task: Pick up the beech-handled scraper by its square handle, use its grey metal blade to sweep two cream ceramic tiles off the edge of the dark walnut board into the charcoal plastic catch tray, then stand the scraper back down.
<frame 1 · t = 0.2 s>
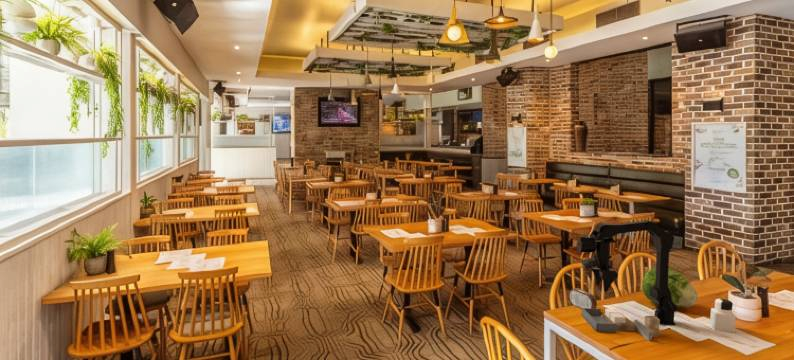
hand: (601, 288, 208), 14 cm above the table, fingers open, 9 cm apart
tray: (598, 323, 206), on the table
scraper: (651, 334, 195), on the table
medicine bottle: (722, 328, 203), on the table
board: (618, 324, 206), on the table
tile b: (617, 321, 203), point 2 cm above the table, touching board
tile a: (612, 316, 208), point 2 cm above the table, touching board
lettuce: (668, 306, 229), on the table
tin: (581, 308, 225), on the table
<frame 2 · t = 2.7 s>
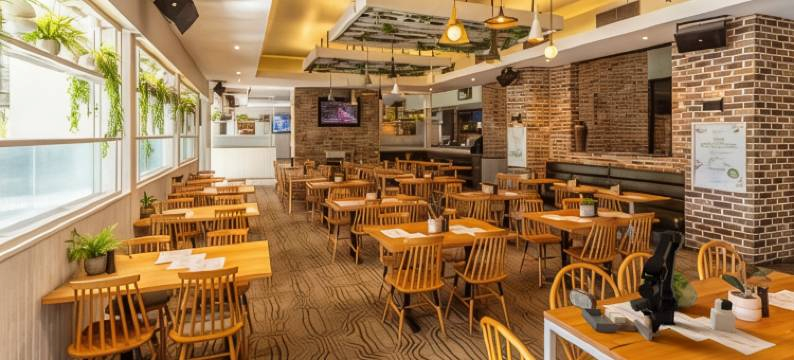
hand: (651, 330, 195), 2 cm above the table, fingers closed on scraper, 4 cm apart
scraper: (651, 334, 195), on the table, touching gripper
everything else where it was.
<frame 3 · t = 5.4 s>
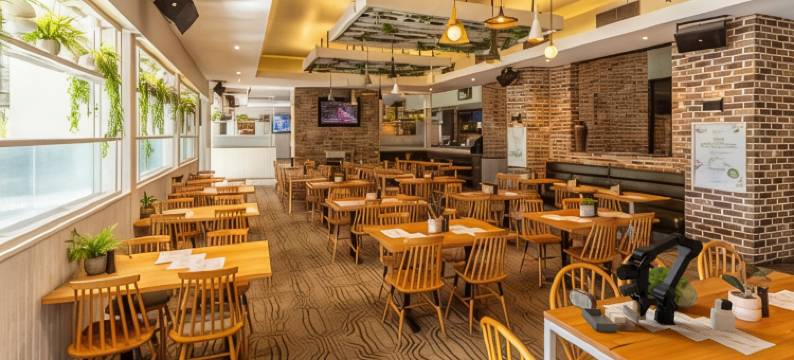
hand: (639, 314, 205), 4 cm above the table, fingers closed on scraper, 4 cm apart
scraper: (639, 318, 205), point 3 cm above the table, touching gripper
everything else where it was.
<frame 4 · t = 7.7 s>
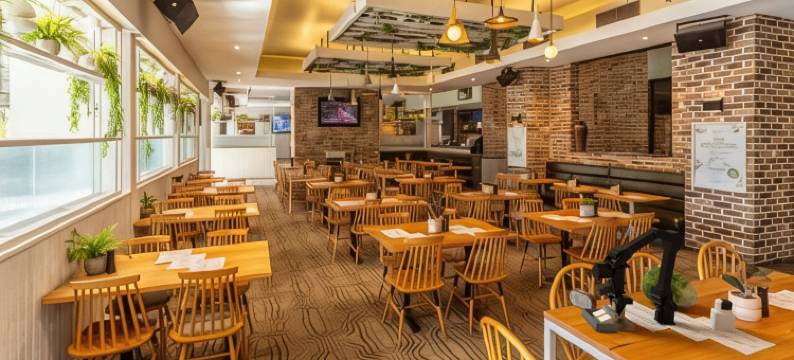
hand: (615, 314, 206), 4 cm above the table, fingers closed on scraper, 4 cm apart
scraper: (617, 317, 206), point 3 cm above the table, touching gripper
tile b: (606, 323, 203), point 1 cm above the table, tilted 25°, touching board, tray
tile a: (601, 317, 209), point 1 cm above the table, tilted 25°, touching board, tray
everything else where it was.
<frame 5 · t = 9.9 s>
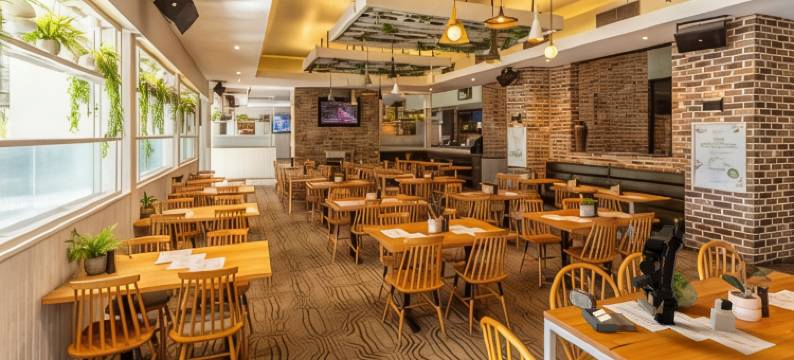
hand: (652, 308, 195), 11 cm above the table, fingers closed on scraper, 4 cm apart
scraper: (654, 311, 195), point 10 cm above the table, touching gripper
everything else where it was.
when the fingers open (2 cm above the table, at t = 11.6 s): scraper drops 1 cm, on the table.
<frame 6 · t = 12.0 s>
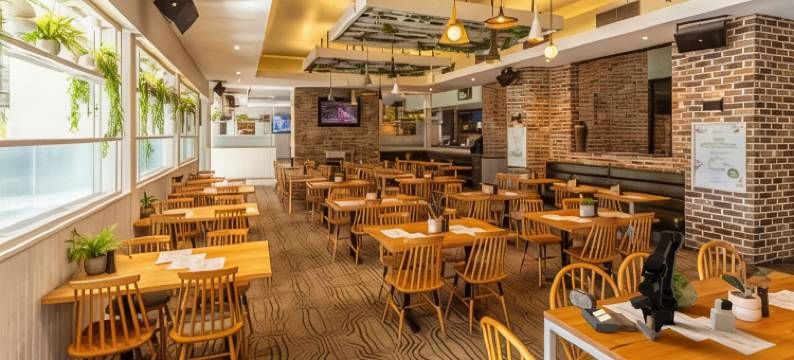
hand: (651, 328, 195), 2 cm above the table, fingers open, 8 cm apart
scraper: (653, 334, 195), on the table
everything else where it was.
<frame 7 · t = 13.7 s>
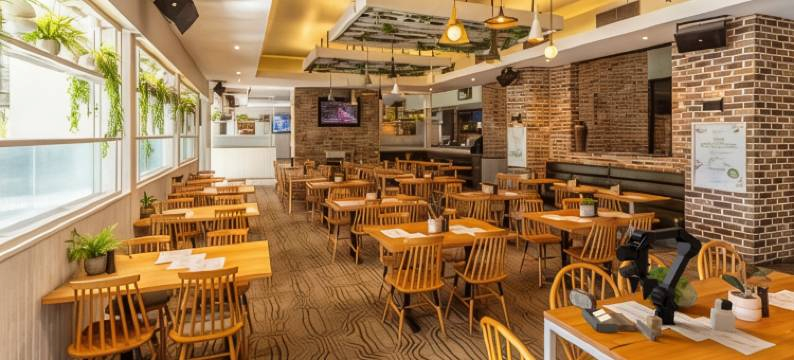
hand: (639, 296, 204), 12 cm above the table, fingers open, 9 cm apart
nothing on the table moved.
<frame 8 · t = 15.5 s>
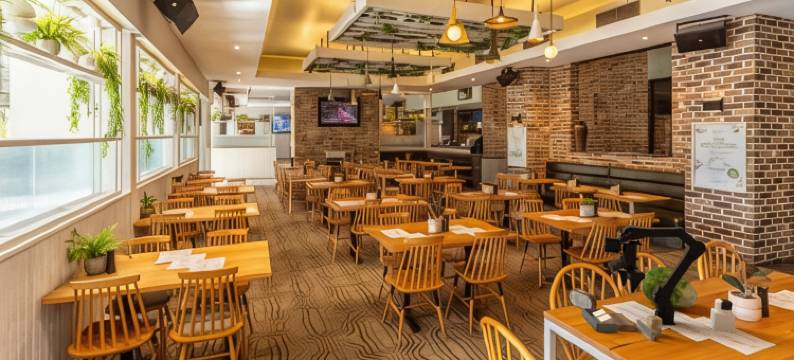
hand: (627, 289, 213), 12 cm above the table, fingers open, 9 cm apart
nothing on the table moved.
at the end: tile a inside the target area (3.9 cm from its centre), point 1.5 cm above the table; tile b inside the target area (3.9 cm from its centre), point 1.5 cm above the table; the gripper is holding nothing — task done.
